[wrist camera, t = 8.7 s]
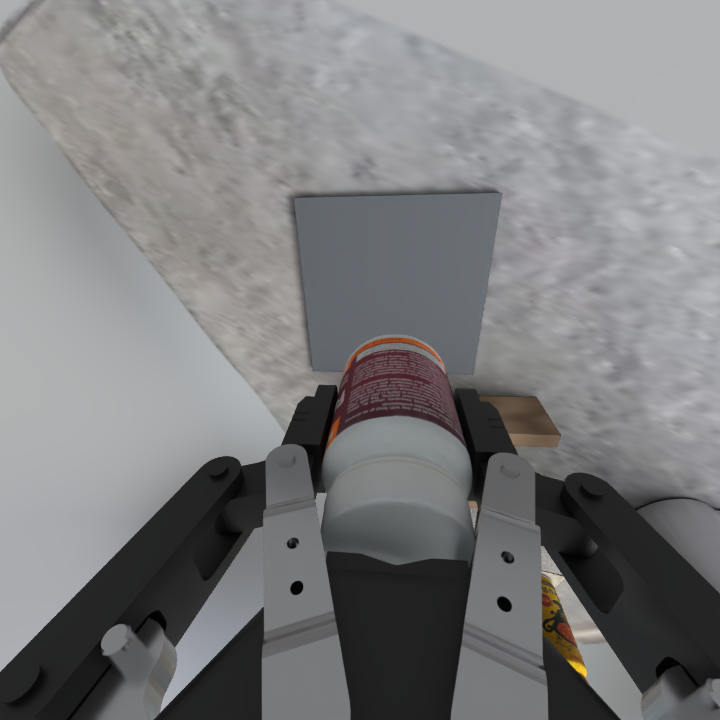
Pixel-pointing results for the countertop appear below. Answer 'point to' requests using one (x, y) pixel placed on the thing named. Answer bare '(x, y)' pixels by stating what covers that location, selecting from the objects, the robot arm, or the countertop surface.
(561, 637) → the condiment
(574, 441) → the countertop surface
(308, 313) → the mat
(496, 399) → the wooden rack
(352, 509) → the pill bottle
